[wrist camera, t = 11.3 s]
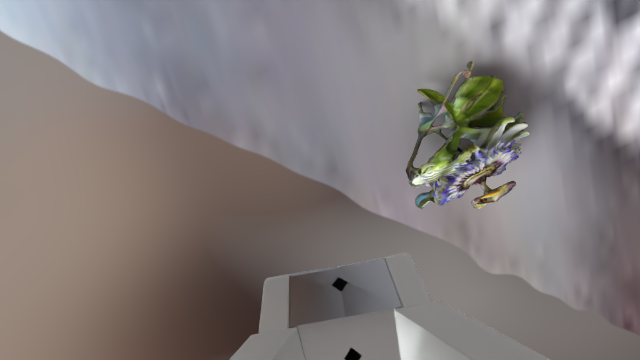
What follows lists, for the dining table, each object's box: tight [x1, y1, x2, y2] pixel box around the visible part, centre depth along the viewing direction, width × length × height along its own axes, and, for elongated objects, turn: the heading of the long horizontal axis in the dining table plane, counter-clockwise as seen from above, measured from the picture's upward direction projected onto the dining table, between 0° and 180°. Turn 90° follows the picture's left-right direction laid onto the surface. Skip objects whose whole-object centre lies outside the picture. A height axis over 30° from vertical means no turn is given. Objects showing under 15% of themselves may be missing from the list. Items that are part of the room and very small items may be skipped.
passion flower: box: [406, 61, 530, 209], centre depth 37 cm, size 11×11×12 cm
